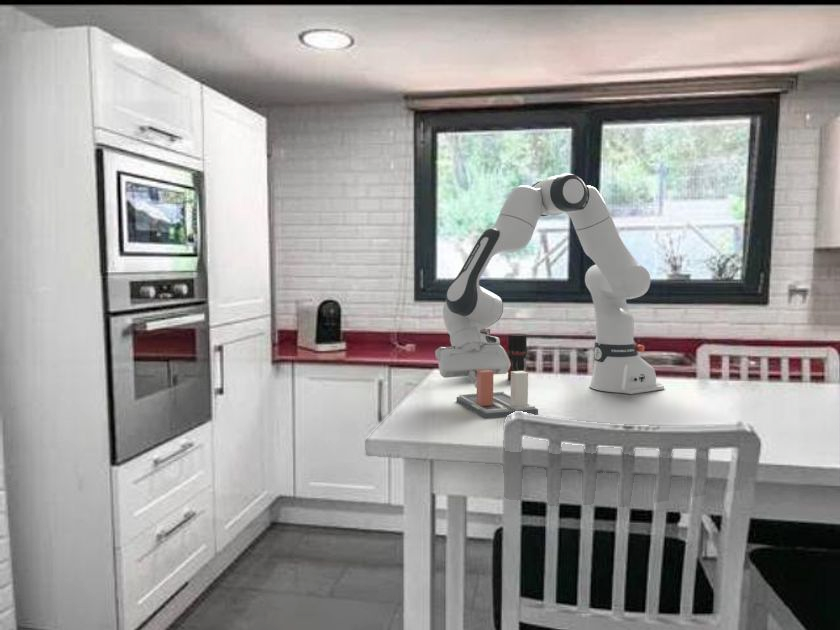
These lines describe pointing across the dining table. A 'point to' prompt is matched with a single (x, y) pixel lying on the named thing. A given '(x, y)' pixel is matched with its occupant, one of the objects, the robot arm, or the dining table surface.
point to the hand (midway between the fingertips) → (481, 386)
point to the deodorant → (517, 352)
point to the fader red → (484, 387)
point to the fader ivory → (519, 388)
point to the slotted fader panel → (494, 405)
